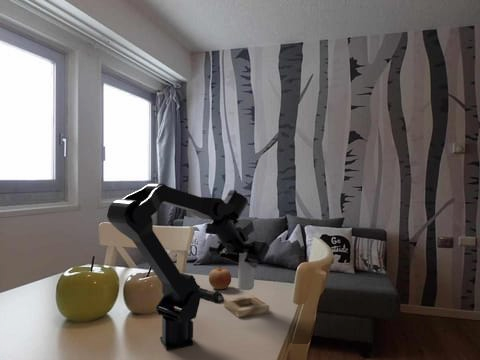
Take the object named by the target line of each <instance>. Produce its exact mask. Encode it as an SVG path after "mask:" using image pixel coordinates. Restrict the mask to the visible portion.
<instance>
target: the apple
mask: <svg viewBox="0 0 480 360" xmlns="http://www.w3.org/2000/svg"><path fill="white" fill-rule="evenodd" d="M208 283H209V284H210V286H211V287H212V288H214V290H215V289H216V290H225V289H227V288H228V287H229V286H230V285H231V283H232V274H231V272H230V271H229V270H228V269H226V268H221V265H219V267H217V268H215V269H212V270H211V271H210V272H209V275H208Z"/></svg>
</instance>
